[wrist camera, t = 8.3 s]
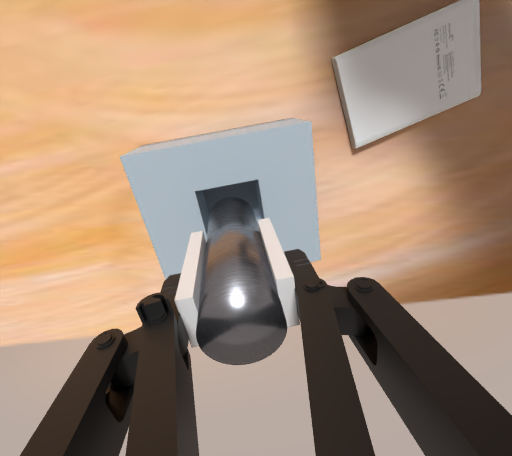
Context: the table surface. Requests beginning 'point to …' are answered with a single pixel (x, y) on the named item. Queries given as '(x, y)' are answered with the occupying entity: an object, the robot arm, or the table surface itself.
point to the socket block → (227, 185)
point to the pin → (237, 290)
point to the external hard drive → (410, 72)
